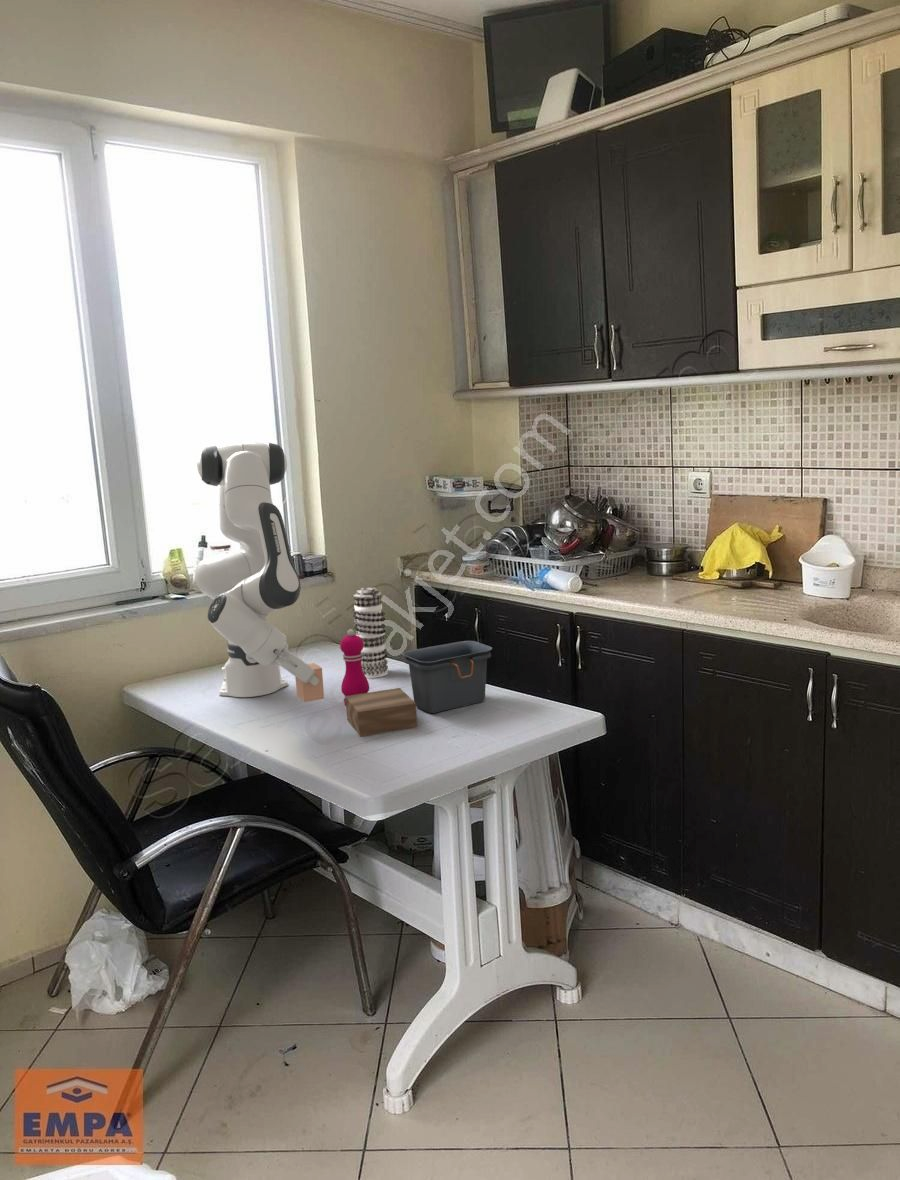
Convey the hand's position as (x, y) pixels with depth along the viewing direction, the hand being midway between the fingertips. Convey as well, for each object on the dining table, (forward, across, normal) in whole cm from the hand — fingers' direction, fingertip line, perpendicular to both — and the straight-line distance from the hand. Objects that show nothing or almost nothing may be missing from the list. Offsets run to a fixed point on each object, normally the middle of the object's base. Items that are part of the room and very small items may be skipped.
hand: (311, 679), depth 226 cm
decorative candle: (+32, +36, -12) cm, 50 cm away
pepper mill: (+21, +13, -2) cm, 24 cm away
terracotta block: (+3, 0, +4) cm, 4 cm away
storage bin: (+34, -4, -16) cm, 38 cm away
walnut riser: (+20, -5, -2) cm, 20 cm away
